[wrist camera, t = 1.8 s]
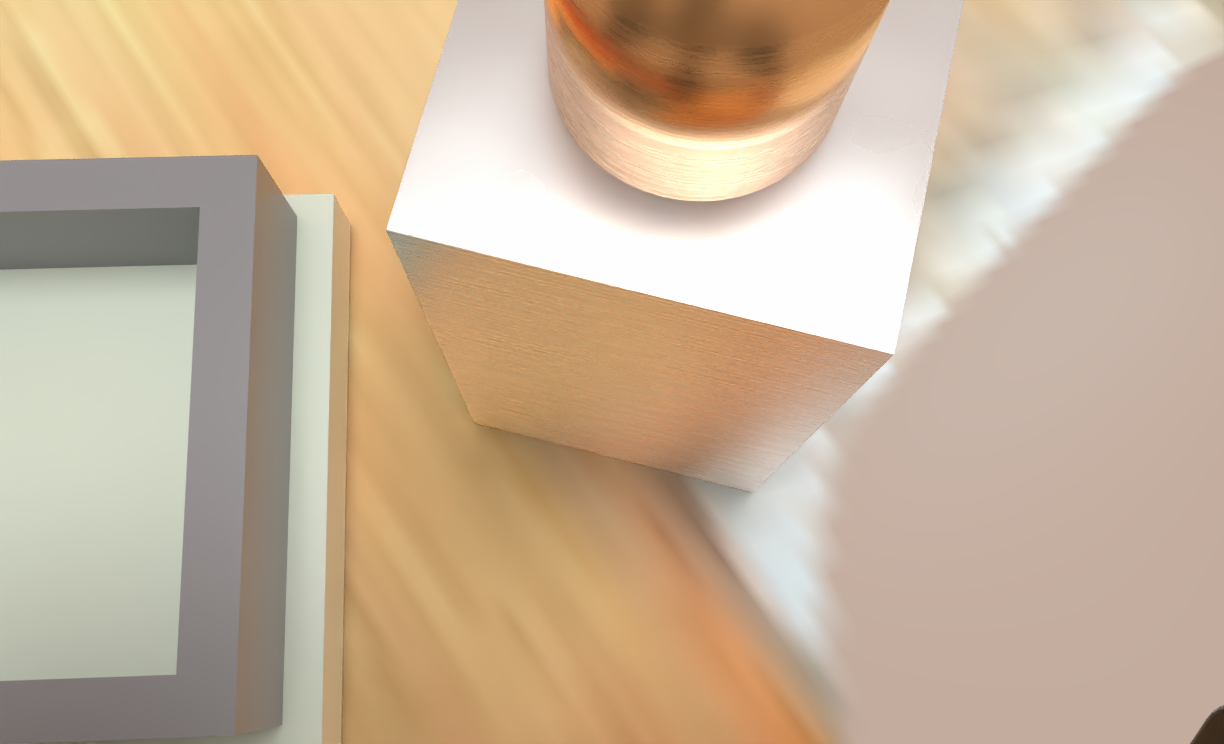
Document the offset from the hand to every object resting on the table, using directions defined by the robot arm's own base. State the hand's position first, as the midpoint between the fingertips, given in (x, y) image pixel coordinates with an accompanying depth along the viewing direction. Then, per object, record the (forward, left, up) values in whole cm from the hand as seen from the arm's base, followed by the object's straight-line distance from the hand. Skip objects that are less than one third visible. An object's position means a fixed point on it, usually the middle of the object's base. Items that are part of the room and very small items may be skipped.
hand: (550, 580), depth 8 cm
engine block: (+5, -2, -12) cm, 13 cm away
